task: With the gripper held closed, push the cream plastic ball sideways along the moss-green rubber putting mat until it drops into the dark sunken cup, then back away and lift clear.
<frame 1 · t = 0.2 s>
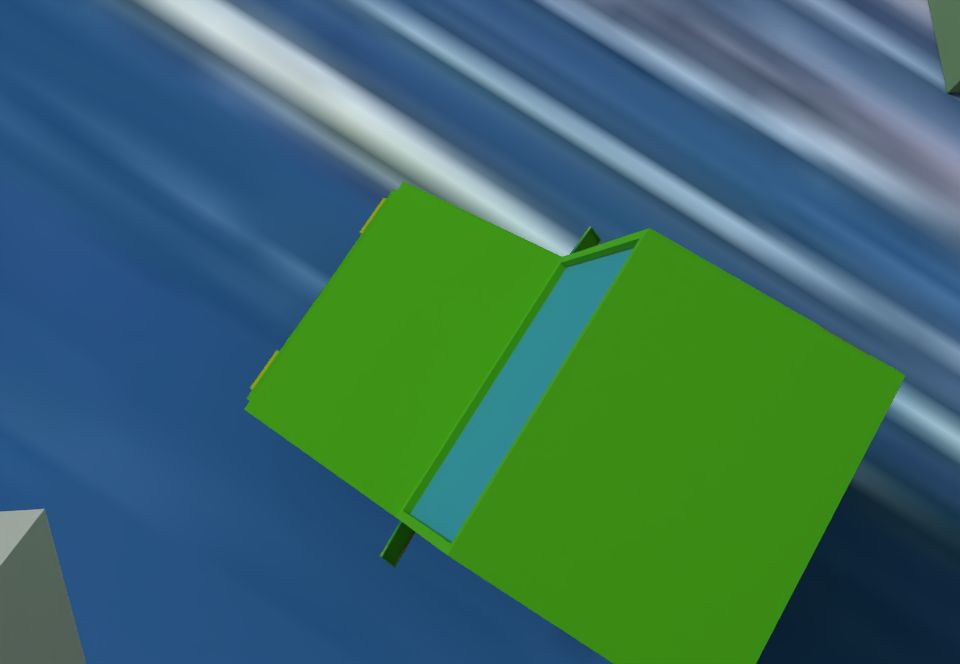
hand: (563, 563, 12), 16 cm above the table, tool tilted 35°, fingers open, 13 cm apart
green toy van: (512, 434, 28), on the table
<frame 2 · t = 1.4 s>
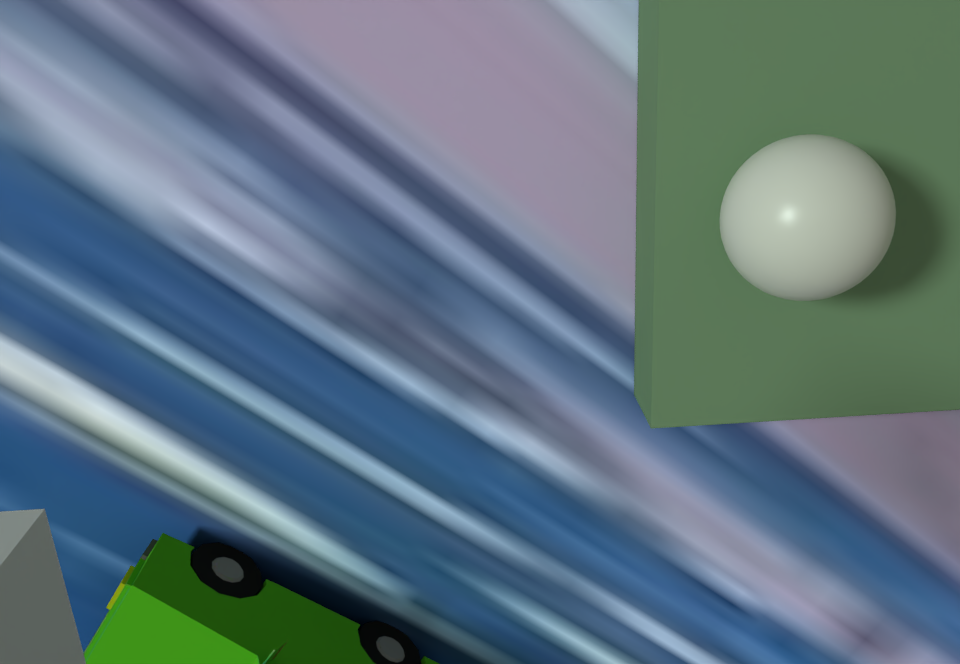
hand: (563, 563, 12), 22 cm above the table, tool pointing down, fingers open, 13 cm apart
green toy van: (263, 644, 38), on the table
ball: (804, 218, 27), point 5 cm above the table, touching putting mat
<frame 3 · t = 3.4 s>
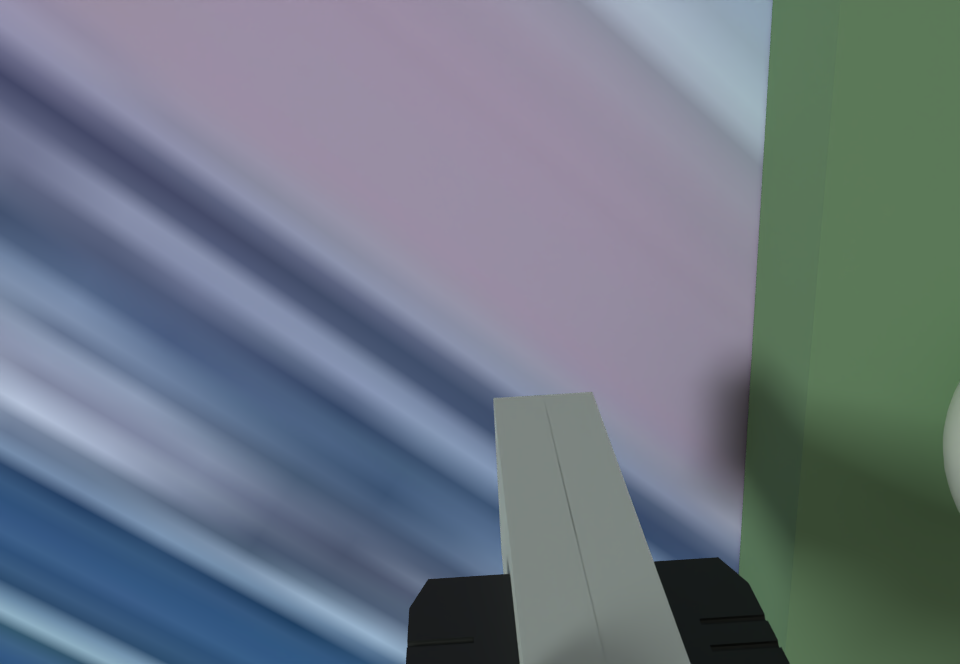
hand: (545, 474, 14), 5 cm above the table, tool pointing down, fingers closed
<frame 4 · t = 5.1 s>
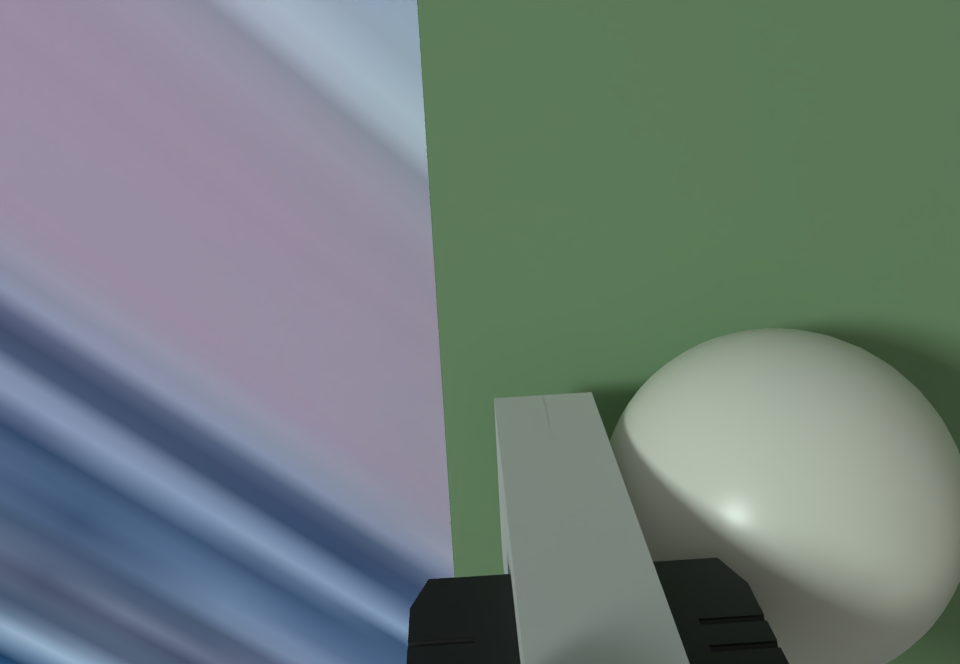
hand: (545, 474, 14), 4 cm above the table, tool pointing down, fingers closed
ball: (774, 500, 13), point 5 cm above the table, tilted 16°, touching putting mat
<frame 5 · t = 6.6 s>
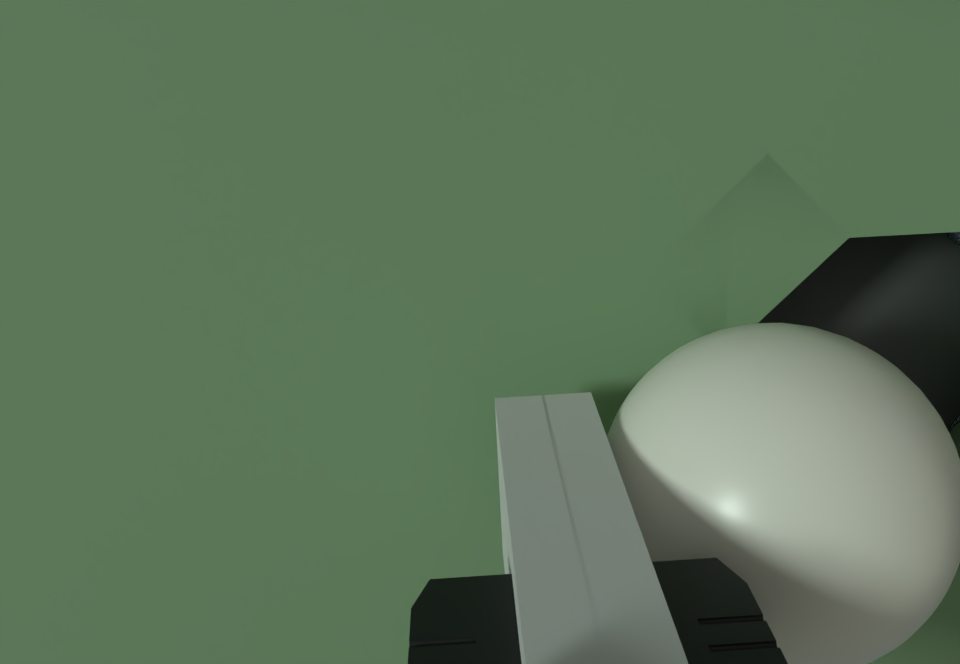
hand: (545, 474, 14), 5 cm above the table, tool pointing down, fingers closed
putting mat: (543, 367, 18), on the table
ball: (771, 494, 13), point 5 cm above the table, tilted 155°, touching gripper, putting mat
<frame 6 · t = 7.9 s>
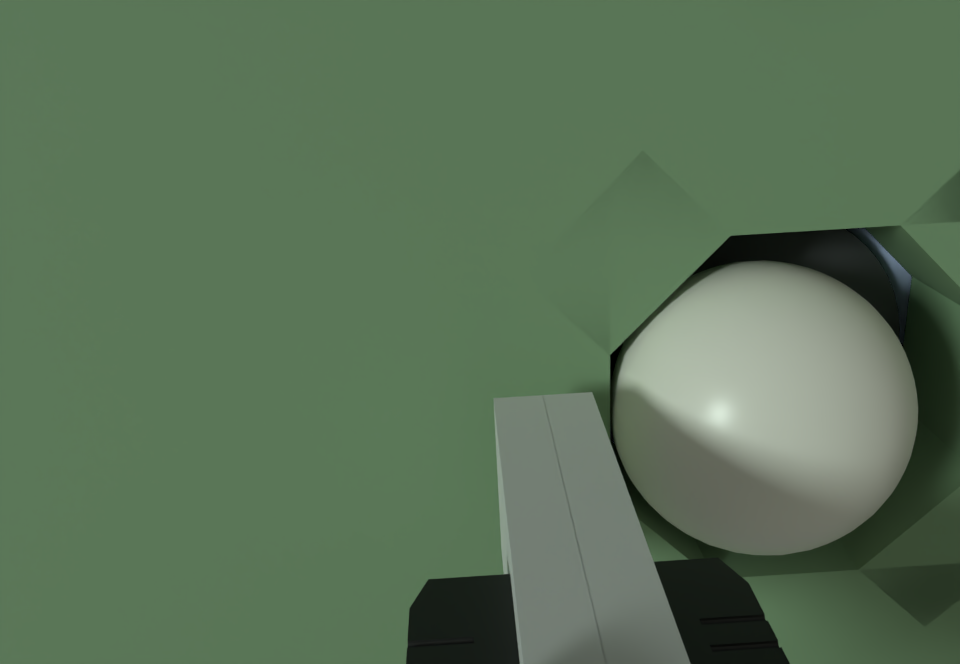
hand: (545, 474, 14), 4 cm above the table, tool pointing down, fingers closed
putting mat: (448, 368, 18), on the table
ball: (756, 405, 15), point 3 cm above the table, tilted 73°, touching putting mat
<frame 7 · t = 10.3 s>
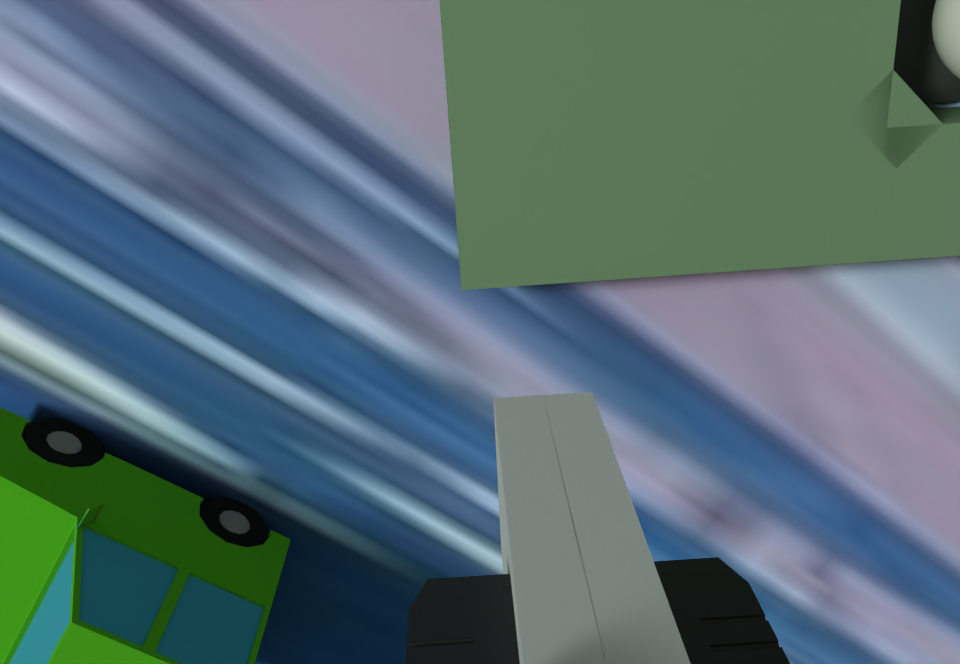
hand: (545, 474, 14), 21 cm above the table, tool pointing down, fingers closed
putting mat: (781, 26, 31), on the table
green toy van: (118, 523, 39), on the table
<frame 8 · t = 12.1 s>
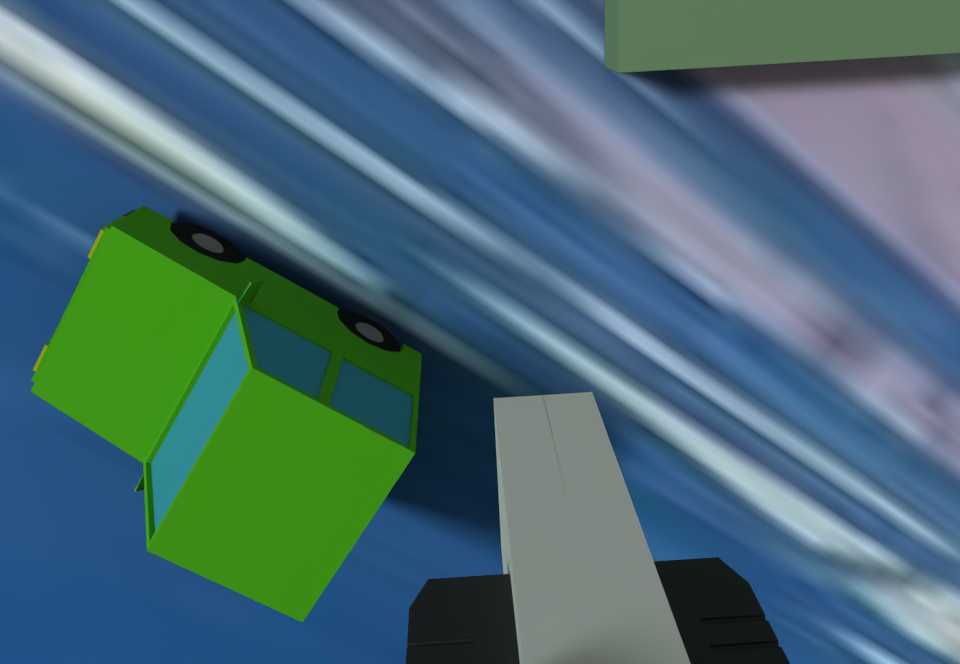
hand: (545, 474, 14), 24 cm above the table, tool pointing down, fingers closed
green toy van: (247, 343, 39), on the table
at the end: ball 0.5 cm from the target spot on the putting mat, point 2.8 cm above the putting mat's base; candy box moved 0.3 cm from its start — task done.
